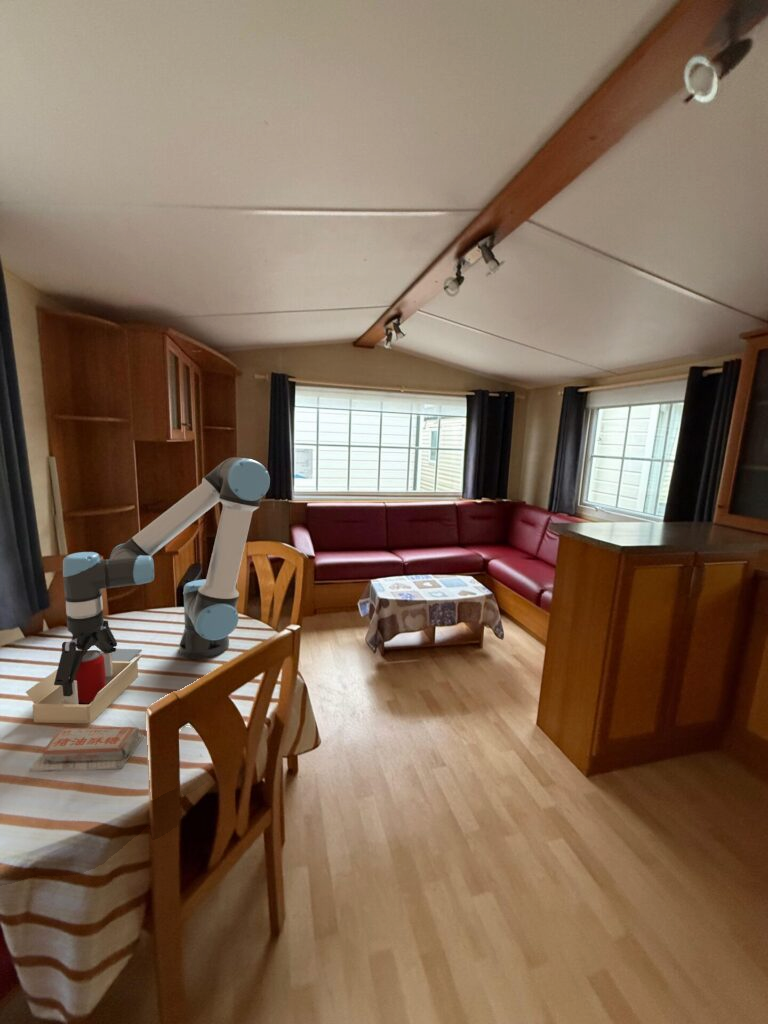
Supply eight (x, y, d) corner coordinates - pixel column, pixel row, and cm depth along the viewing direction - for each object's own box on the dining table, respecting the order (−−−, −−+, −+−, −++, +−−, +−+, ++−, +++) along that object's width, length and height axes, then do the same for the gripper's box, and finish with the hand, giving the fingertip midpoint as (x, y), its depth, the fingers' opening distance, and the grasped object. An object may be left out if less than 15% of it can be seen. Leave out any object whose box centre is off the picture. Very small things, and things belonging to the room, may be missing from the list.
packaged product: (144, 718, 94) (120, 750, 84) (145, 737, 95) (122, 771, 85) (60, 720, 92) (26, 752, 82) (62, 739, 93) (29, 774, 83)
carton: (145, 676, 118) (144, 651, 117) (98, 724, 98) (96, 695, 97) (85, 674, 118) (83, 650, 116) (25, 722, 97) (22, 693, 96)
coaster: (141, 650, 132) (141, 649, 132) (119, 670, 120) (119, 669, 120) (103, 649, 132) (103, 648, 132) (77, 669, 120) (77, 668, 120)
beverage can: (103, 686, 112) (100, 646, 110) (109, 698, 108) (106, 655, 106) (73, 696, 108) (69, 654, 106) (77, 708, 103) (74, 664, 101)
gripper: (101, 595, 116) (106, 664, 119) (29, 634, 91) (37, 720, 95) (128, 595, 116) (132, 664, 120) (63, 635, 92) (70, 721, 95)
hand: (90, 689), depth 107 cm, fingers open, 13 cm apart
